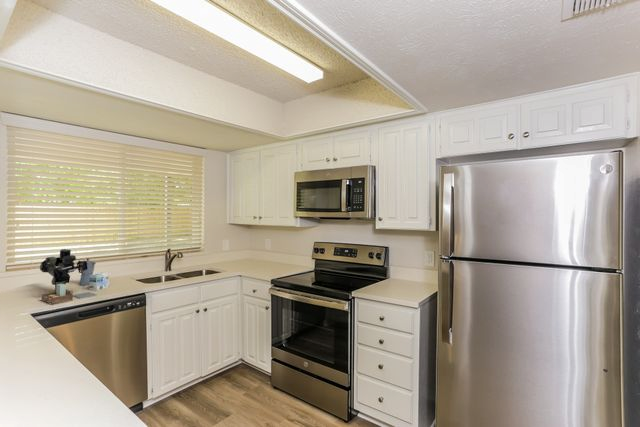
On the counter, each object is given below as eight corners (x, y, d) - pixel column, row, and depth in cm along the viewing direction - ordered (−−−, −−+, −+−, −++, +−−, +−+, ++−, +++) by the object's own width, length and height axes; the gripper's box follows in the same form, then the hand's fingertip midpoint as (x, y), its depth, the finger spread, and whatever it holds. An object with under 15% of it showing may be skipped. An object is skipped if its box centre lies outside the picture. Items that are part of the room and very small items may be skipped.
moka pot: (91, 285, 245) (91, 259, 245) (71, 285, 245) (71, 259, 245) (100, 283, 254) (100, 257, 254) (80, 282, 255) (80, 257, 254)
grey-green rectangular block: (56, 300, 206) (56, 284, 206) (61, 298, 209) (61, 283, 209) (60, 301, 203) (59, 285, 203) (65, 300, 206) (65, 284, 206)
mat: (71, 295, 216) (71, 295, 216) (88, 292, 225) (88, 292, 225) (79, 298, 210) (79, 297, 210) (97, 295, 218) (97, 294, 218)
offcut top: (48, 298, 204) (48, 295, 204) (54, 297, 206) (53, 294, 206) (53, 300, 199) (53, 297, 199) (59, 299, 202) (59, 296, 202)
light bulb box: (96, 290, 231) (96, 275, 231) (89, 290, 232) (88, 275, 232) (109, 287, 241) (109, 272, 241) (101, 286, 243) (101, 272, 243)
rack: (41, 300, 204) (41, 291, 204) (61, 297, 213) (61, 288, 213) (52, 304, 196) (52, 294, 196) (72, 300, 205) (72, 291, 205)
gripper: (47, 258, 210) (56, 265, 201) (80, 251, 225) (90, 256, 216) (49, 274, 213) (58, 281, 204) (82, 266, 227) (92, 272, 219)
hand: (75, 272), depth 211 cm, fingers open, 9 cm apart
